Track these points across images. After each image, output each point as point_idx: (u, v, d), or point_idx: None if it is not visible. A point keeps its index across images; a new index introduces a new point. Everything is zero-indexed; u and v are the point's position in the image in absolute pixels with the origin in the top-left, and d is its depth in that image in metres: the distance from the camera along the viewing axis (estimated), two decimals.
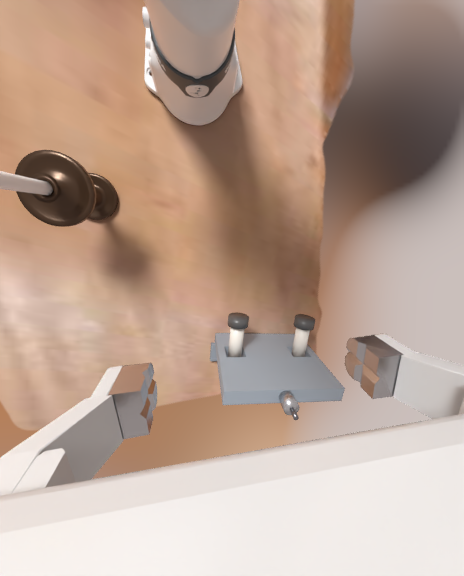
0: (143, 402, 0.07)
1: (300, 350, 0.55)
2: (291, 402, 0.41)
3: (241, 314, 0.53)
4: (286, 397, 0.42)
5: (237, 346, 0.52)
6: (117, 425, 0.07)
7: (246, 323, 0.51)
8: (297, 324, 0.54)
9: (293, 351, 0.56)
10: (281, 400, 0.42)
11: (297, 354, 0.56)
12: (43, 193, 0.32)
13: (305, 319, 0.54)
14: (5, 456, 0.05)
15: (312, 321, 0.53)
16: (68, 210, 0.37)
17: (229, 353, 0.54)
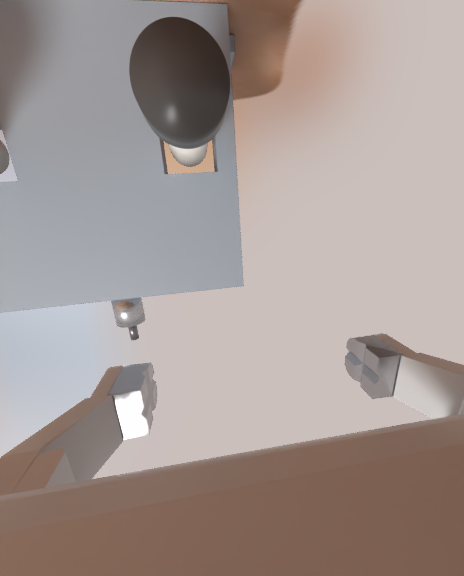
0: (143, 402, 0.07)
1: (184, 159, 0.18)
2: None
3: None
4: (118, 314, 0.23)
5: None
6: (117, 425, 0.07)
7: None
8: (144, 116, 0.12)
9: None
10: None
11: (180, 160, 0.20)
12: None
13: (178, 94, 0.11)
14: (5, 456, 0.05)
15: (207, 121, 0.11)
16: None
17: None
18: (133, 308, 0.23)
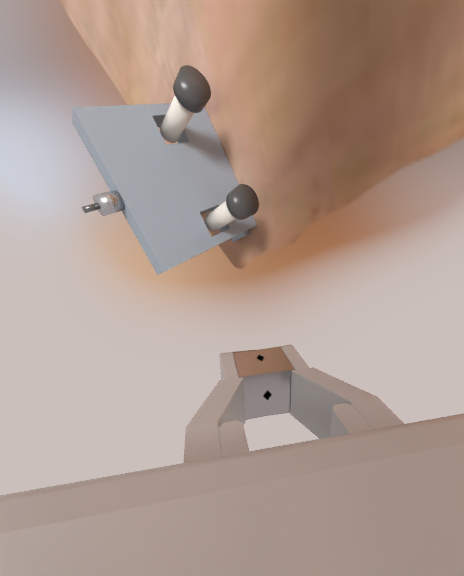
0: (267, 384, 0.08)
1: (211, 218, 0.39)
2: (98, 199, 0.31)
3: (206, 91, 0.31)
4: (107, 194, 0.32)
5: (168, 120, 0.35)
6: (244, 406, 0.08)
7: (188, 101, 0.30)
8: (231, 191, 0.34)
9: (210, 212, 0.40)
10: (106, 192, 0.32)
11: (207, 218, 0.40)
12: None
13: (243, 199, 0.33)
14: (189, 427, 0.06)
15: (242, 209, 0.33)
16: None
17: None
18: (115, 204, 0.32)
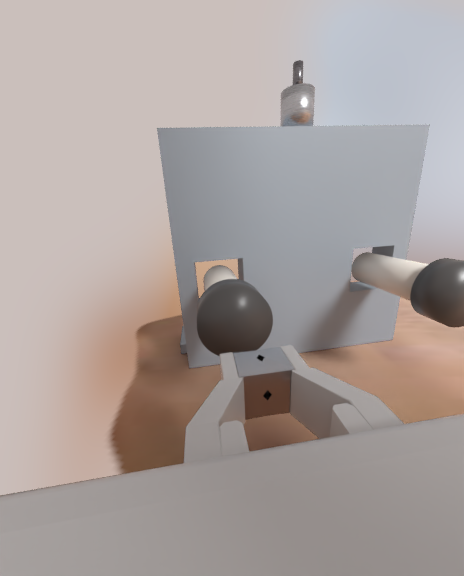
0: (267, 384, 0.08)
1: (225, 270, 0.21)
2: None
3: (451, 315, 0.16)
4: (310, 105, 0.19)
5: (390, 257, 0.21)
6: (244, 406, 0.08)
7: (439, 272, 0.16)
8: None
9: None
10: None
11: (228, 269, 0.22)
12: None
13: (238, 315, 0.14)
14: (189, 427, 0.06)
15: (215, 300, 0.13)
16: None
17: None
18: (292, 111, 0.19)
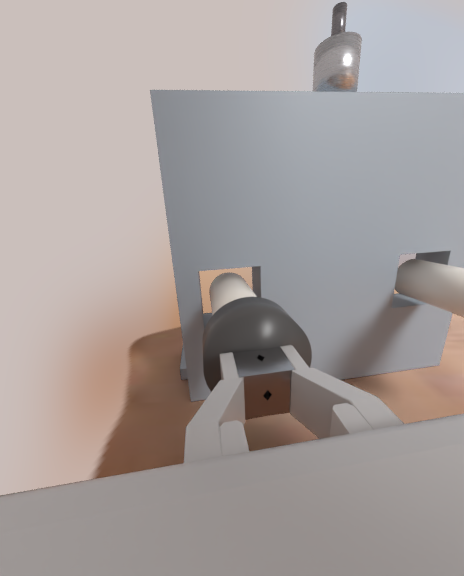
0: (267, 384, 0.08)
1: (237, 280, 0.16)
2: (354, 32, 0.14)
3: None
4: (356, 63, 0.14)
5: (453, 267, 0.17)
6: (244, 406, 0.08)
7: None
8: None
9: None
10: None
11: (240, 278, 0.18)
12: None
13: None
14: (189, 427, 0.06)
15: (231, 331, 0.09)
16: None
17: None
18: (332, 71, 0.14)
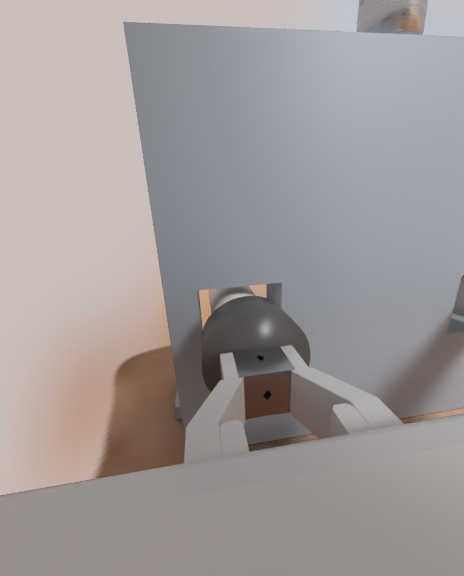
0: (267, 384, 0.08)
1: None
2: None
3: None
4: None
5: None
6: (244, 406, 0.08)
7: None
8: None
9: None
10: None
11: None
12: None
13: None
14: (189, 427, 0.06)
15: (230, 330, 0.09)
16: None
17: None
18: (391, 4, 0.10)
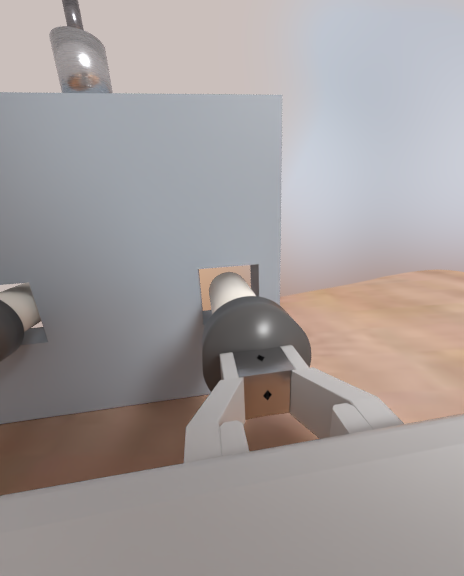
0: (267, 384, 0.08)
1: None
2: (72, 27, 0.12)
3: None
4: (87, 61, 0.13)
5: (231, 284, 0.15)
6: (244, 406, 0.08)
7: (216, 323, 0.10)
8: (3, 315, 0.14)
9: None
10: (107, 79, 0.14)
11: None
12: None
13: None
14: (189, 427, 0.06)
15: None
16: None
17: None
18: (61, 71, 0.13)
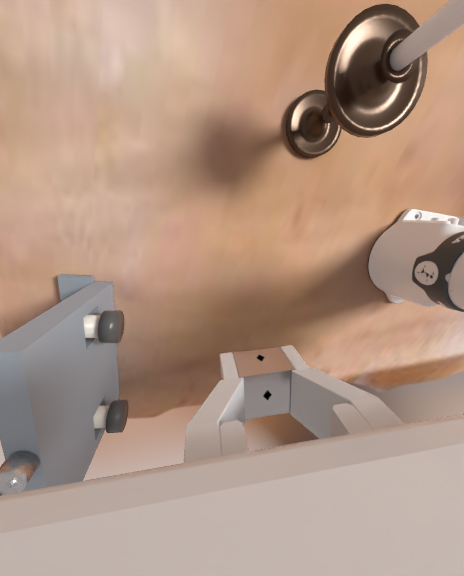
0: (267, 384, 0.08)
1: None
2: None
3: (122, 328, 0.35)
4: (24, 472, 0.21)
5: None
6: (244, 406, 0.08)
7: (109, 342, 0.32)
8: (113, 410, 0.36)
9: None
10: (14, 464, 0.21)
11: None
12: (402, 52, 0.20)
13: (123, 417, 0.37)
14: (189, 427, 0.06)
15: (121, 429, 0.36)
16: (347, 86, 0.24)
17: None
18: (29, 480, 0.21)
